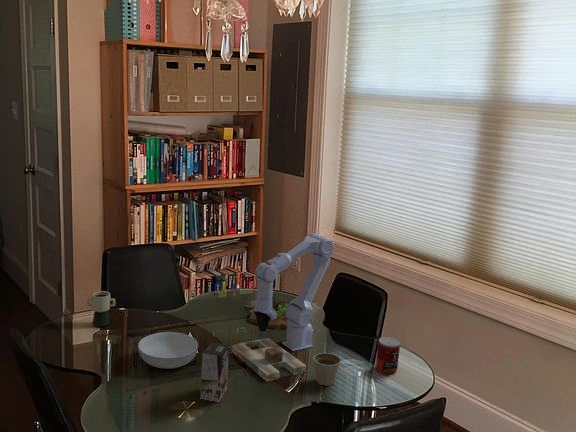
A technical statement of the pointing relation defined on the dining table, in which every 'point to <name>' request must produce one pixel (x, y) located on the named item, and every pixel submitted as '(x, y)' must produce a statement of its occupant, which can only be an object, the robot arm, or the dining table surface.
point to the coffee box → (214, 371)
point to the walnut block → (273, 355)
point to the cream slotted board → (256, 360)
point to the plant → (274, 323)
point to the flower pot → (326, 368)
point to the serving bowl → (168, 349)
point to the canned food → (387, 355)
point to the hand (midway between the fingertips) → (262, 330)
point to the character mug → (100, 307)
